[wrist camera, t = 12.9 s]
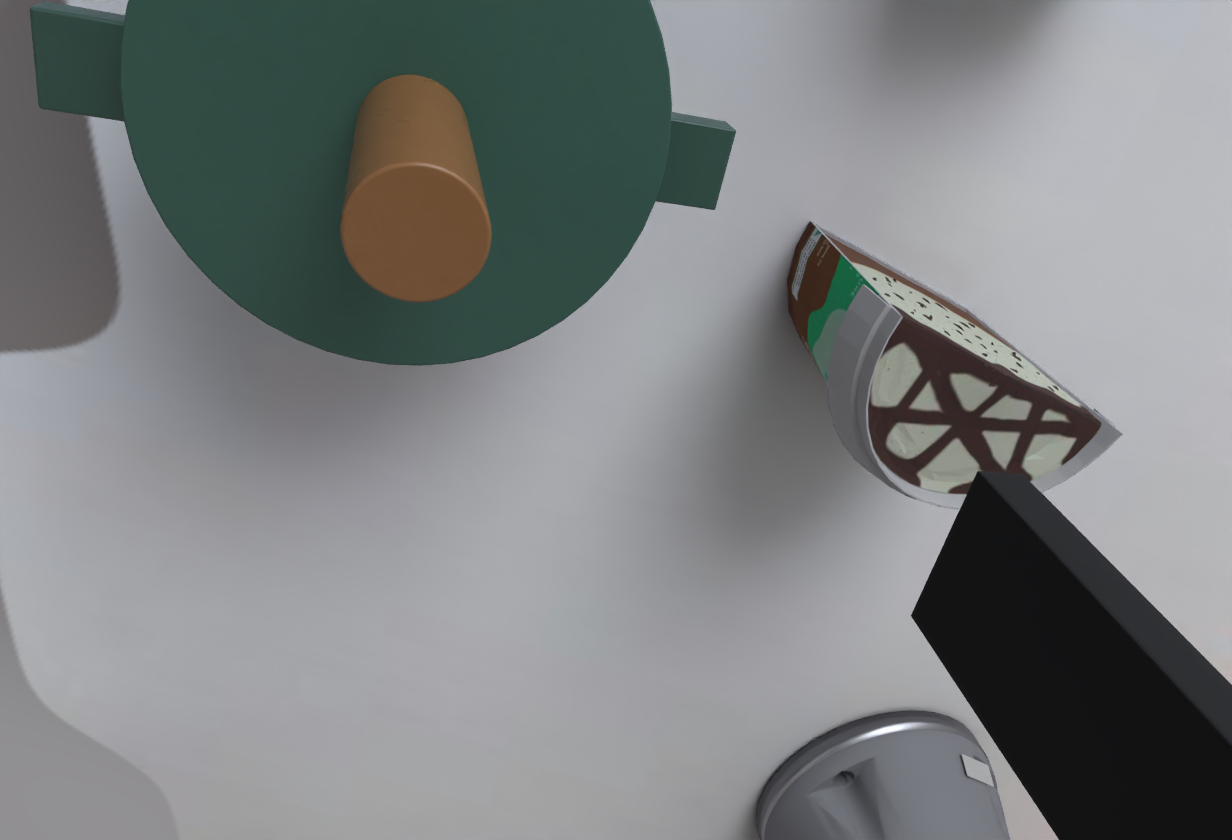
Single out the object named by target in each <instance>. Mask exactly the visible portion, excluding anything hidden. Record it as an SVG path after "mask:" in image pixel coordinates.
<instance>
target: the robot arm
mask: <svg viewBox="0 0 1232 840" xmlns="http://www.w3.org/2000/svg"><path fill="white" fill-rule="evenodd" d="M911 616H912V618H913V619H914V621H915V623H916V624H917V626H918V627H919V629H920V630H921V632H922V633H923V635H924V636H925V638H926V639H927V641H928V642H929V644H930V645H931V647H932V648H933V650H934V651H935V653H936V654H937V656H938V657H939V659H940V660H941V662H942V663H943V665H944V666H945V668H946V669H947V671H948V672H949V674H950V675H951V677H952V678H953V680H954V681H955V683H956V685H957V686H958V688H959V689H960V691H961V692H962V694H963V695H964V697H965V698H966V700H967V701H968V703H969V704H970V706H971V707H972V709H973V710H974V712H975V713H976V715H977V716H978V718H979V719H980V721H981V722H982V724H983V725H984V727H985V728H986V730H987V731H988V733H989V734H990V736H991V737H992V739H993V740H994V742H995V743H996V745H997V747H998V748H999V750H1000V751H1001V753H1002V754H1003V756H1004V757H1005V759H1006V760H1007V762H1008V763H1009V765H1010V766H1011V768H1012V769H1013V771H1014V772H1015V774H1016V775H1017V777H1018V778H1019V780H1020V781H1021V783H1022V784H1023V786H1024V787H1025V789H1026V790H1027V792H1028V793H1029V795H1030V796H1031V798H1032V799H1033V801H1034V802H1035V804H1036V805H1037V807H1038V809H1039V810H1040V812H1041V813H1042V815H1043V816H1044V818H1045V819H1046V821H1047V822H1048V824H1049V825H1050V827H1051V828H1052V830H1053V831H1054V833H1055V834H1056V836H1057V837H1058V839H1059V840H1232V685H1231V684H1230V683H1229V682H1228V681H1227V680H1226V679H1225V678H1224V677H1223V676H1222V675H1221V674H1220V673H1219V672H1218V671H1217V670H1216V669H1215V668H1214V667H1213V666H1212V665H1211V664H1210V663H1209V662H1208V661H1207V660H1206V658H1205V657H1204V656H1203V655H1202V654H1201V653H1200V652H1199V651H1198V650H1197V649H1196V648H1195V647H1194V646H1193V645H1192V644H1191V643H1190V642H1189V641H1188V640H1187V639H1186V638H1185V637H1184V636H1183V635H1182V634H1181V633H1180V632H1179V631H1178V630H1177V629H1176V628H1175V627H1174V626H1173V625H1172V624H1171V623H1170V622H1169V621H1168V620H1167V619H1166V618H1165V617H1164V616H1163V615H1162V614H1161V613H1160V612H1159V611H1158V610H1157V609H1156V608H1155V607H1154V606H1153V605H1152V604H1151V603H1150V602H1149V601H1148V600H1147V599H1146V598H1145V597H1144V596H1143V595H1142V594H1141V593H1140V592H1139V591H1138V590H1137V589H1136V588H1135V587H1134V586H1133V585H1132V584H1131V583H1130V582H1129V581H1128V580H1127V579H1126V578H1125V577H1124V576H1123V575H1122V574H1121V573H1120V572H1119V571H1118V570H1117V569H1116V568H1115V567H1114V566H1113V565H1112V564H1111V563H1110V562H1109V561H1108V560H1107V559H1106V558H1105V557H1104V556H1103V555H1102V554H1101V553H1100V552H1099V551H1098V550H1097V549H1096V548H1095V547H1094V546H1093V545H1092V544H1091V543H1090V542H1089V541H1088V540H1087V538H1086V537H1085V536H1084V535H1083V534H1082V533H1081V532H1080V531H1079V530H1078V529H1077V528H1076V527H1075V526H1074V525H1073V524H1072V523H1071V522H1070V521H1069V520H1068V519H1067V518H1066V517H1065V516H1064V515H1063V514H1062V513H1061V512H1060V511H1059V510H1058V509H1057V508H1056V507H1055V506H1054V505H1053V504H1052V503H1051V502H1050V501H1049V500H1048V499H1047V498H1046V497H1045V496H1044V495H1043V494H1042V493H1041V492H1040V491H1039V490H1038V489H1037V488H1036V487H1035V486H1034V485H1033V484H1032V483H1031V482H1030V481H1029V480H1028V479H1027V478H1026V477H1025V476H1024V475H1023V474H1014V473H1000V472H986V471H977V473H976V476H975V478H974V480H973V482H972V484H971V486H970V489H969V491H968V493H967V495H966V497H965V499H964V502H963V504H962V506H961V508H960V510H959V512H958V515H957V517H956V519H955V521H954V523H953V526H952V528H951V530H950V532H949V534H948V536H947V539H946V541H945V543H944V545H943V547H942V549H941V552H940V554H939V556H938V558H937V560H936V562H935V565H934V567H933V569H932V571H931V573H930V575H929V578H928V580H927V582H926V584H925V586H924V589H923V591H922V593H921V595H920V597H919V599H918V602H917V604H916V606H915V608H914V610H913V612H912V615H911ZM756 823H757V829H758V833H759V836H760V838H761V840H1010V837H1009V833H1008V829H1007V825H1006V821H1005V817H1004V812H1003V808H1002V805H1001V801H1000V797H999V794H998V791H997V784H996V780H995V776H994V773H993V770H992V767H991V765H990V763H989V760H988V758H987V756H986V754H985V752H984V751H983V749H982V748H981V746H980V744H979V743H978V741H977V740H976V738H975V737H974V735H973V734H972V733H971V731H970V730H969V729H968V728H967V727H966V726H964V725H963V724H962V723H960V722H959V721H957V720H955V719H953V718H951V717H948V716H945V715H942V714H938V713H933V712H926V711H898V712H889V713H884V714H879V715H874V716H870V717H867V718H863V719H860V720H857V721H854V722H851V723H849V724H846V725H844V726H841V727H839V728H837V729H835V730H833V731H831V732H829V733H827V734H825V735H823V736H821V737H820V738H818V739H816V740H815V741H813V742H811V743H810V744H808V745H807V746H806V747H804V748H803V749H801V750H800V751H799V752H798V753H796V754H795V755H794V756H793V757H791V758H790V759H789V760H788V761H787V762H786V763H785V764H784V765H783V766H782V767H781V768H780V769H779V770H778V771H777V773H776V774H775V775H774V776H773V778H772V779H771V780H770V782H769V783H768V785H767V787H766V788H765V790H764V792H763V794H762V796H761V799H760V801H759V804H758V808H757V815H756Z"/></svg>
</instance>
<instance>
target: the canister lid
mask: <svg viewBox="0 0 1232 840" xmlns="http://www.w3.org/2000/svg"><path fill="white" fill-rule="evenodd" d="M120 90H121V98H122V107H123V115H124V123H125V126H126V130H127V134H128V138H129V142H130V146H131V150H132V153H133V157H134V160H135V163H136V165H137V168H138V170H139V173H140V175H141V178H142V180H143V183H144V185H145V188H146V190H147V193H148V195H149V196H150V198H151V200H152V202H153V204H154V205H155V207H156V209H157V211H158V213H159V214H160V216H161V218H162V220H163V222H164V223H165V225H166V227H167V228H168V229H169V231H170V232H171V234H172V235H173V236H174V238H175V239H176V240H177V242H178V243H179V245H180V246H181V247H182V249H183V250H184V251H185V253H186V254H187V256H188V257H189V258H190V259H191V260H192V261H193V262H194V263H195V264H196V265H197V266H198V267H199V269H200V270H201V271H202V272H203V273H204V274H205V275H206V276H207V277H208V278H209V279H210V280H211V281H212V282H213V283H214V284H215V285H216V286H217V287H218V288H220V289H221V290H222V291H223V292H224V293H225V294H227V295H228V296H229V297H230V298H231V299H232V300H234V301H235V302H236V303H237V304H238V305H240V306H241V307H243V308H244V309H246V310H247V311H249V312H250V313H252V314H253V315H254V316H256V317H257V318H259V319H260V320H262V321H263V322H265V323H266V324H268V325H270V326H272V327H274V328H276V329H278V330H280V331H281V332H283V333H285V334H287V335H289V336H291V337H293V338H295V339H297V340H299V341H302V342H304V343H307V344H310V345H312V346H315V347H317V348H320V349H322V350H325V351H328V352H331V353H335V354H339V355H343V356H347V357H350V358H354V359H358V360H364V361H371V362H377V363H384V364H394V365H433V364H446V363H455V362H460V361H465V360H470V359H475V358H480V357H484V356H487V355H490V354H493V353H496V352H500V351H503V350H506V349H509V348H512V347H514V346H516V345H518V344H520V343H523V342H525V341H527V340H529V339H531V338H534V337H536V336H538V335H540V334H541V333H543V332H545V331H546V330H548V329H549V328H551V327H553V326H554V325H556V324H558V323H559V322H561V321H563V320H564V319H565V318H567V317H568V316H569V315H570V314H572V313H573V312H574V311H576V310H577V309H578V308H579V307H581V306H582V305H583V304H585V303H586V302H587V301H588V300H589V299H590V298H591V297H592V296H593V295H594V294H595V293H596V292H597V291H598V290H599V289H600V288H601V287H602V286H603V285H604V284H605V283H606V282H607V281H608V280H609V278H610V277H611V276H612V275H613V273H614V272H615V271H616V270H617V268H618V267H619V266H620V264H621V263H622V262H623V261H624V259H625V258H626V257H627V255H628V254H629V252H630V250H631V249H632V247H633V245H634V244H635V242H636V240H637V239H638V237H639V235H640V234H641V232H642V230H643V228H644V226H645V224H646V221H647V219H648V217H649V215H650V212H651V210H652V208H653V206H654V203H655V201H656V198H657V194H658V191H659V188H660V184H661V181H662V178H663V174H664V171H665V166H666V160H667V154H668V148H669V142H670V132H671V110H672V101H671V88H670V76H669V67H668V62H667V57H666V53H665V48H664V43H663V38H662V34H661V31H660V28H659V25H658V22H657V19H656V16H655V13H654V10H653V7H652V5H651V2H650V0H129V1H128V4H127V9H126V15H125V21H124V27H123V33H122V39H121V45H120Z"/></svg>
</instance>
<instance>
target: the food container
mask: <svg viewBox="0 0 1232 840" xmlns="http://www.w3.org/2000/svg"><path fill="white" fill-rule="evenodd" d="M787 287H788V309H789V314H790V316H791V318H792V321H793V323H794V325H795V327H796V330H797V332H798V334H799V337H800V339H801V340H802V342H803V344H804V345H805V347H806V349H807V350H808V352H809V354H810V355H811V357H812V359H813V361H814V362H815V364H816V366H817V367H818V369H819V371H820V372H821V374H822V376H823V377H824V379H825V381H826V382H827V387H828V404H829V409H830V413H831V417H832V421H833V425H834V427H835V429H836V431H837V433H838V435H839V438H840V440H841V442H842V444H843V445H844V446H845V448H846V449H847V450H848V452H849V453H850V454H851V455H852V457H853V458H854V459H855V460H856V461H857V462H858V463H860V464H861V465H862V466H863V467H864V468H866V469H867V470H868V471H869V472H870V473H872V474H873V475H875V476H876V477H877V478H879V479H880V480H881V481H883V482H884V483H885V484H887V485H888V486H889V487H891V488H893V489H895V490H896V491H898V492H900V493H902V494H904V495H906V496H908V497H911V498H914V499H917V500H920V501H922V502H925V503H928V504H932V505H935V506H938V507H944V508H951V509H960V508H961V506H962V504H963V502H964V499H965V497H966V495H967V493H968V491H969V489H970V486H971V484H972V482H973V480H974V478H975V476H976V473H977V471H986V472H1000V473H1014V474H1023V475H1024V476H1025V477H1026V478H1027V479H1028V480H1029V481H1030V482H1031V483H1032V484H1033V485H1034V486H1035V487H1036V488H1037V489H1038V490H1039V491H1040V492H1041V493H1042V492H1044V491H1046V490H1048V489H1050V488H1052V487H1054V486H1056V485H1058V484H1060V483H1062V482H1063V481H1065V480H1067V479H1069V478H1070V477H1072V476H1073V475H1075V474H1076V473H1078V472H1079V471H1081V470H1082V469H1084V468H1085V467H1087V466H1088V465H1089V464H1090V463H1092V462H1093V461H1094V460H1095V459H1096V458H1098V457H1099V456H1100V455H1101V454H1102V453H1104V452H1105V451H1106V450H1107V449H1108V448H1109V447H1110V446H1111V445H1112V444H1113V443H1114V442H1115V441H1116V440H1117V439H1118V438H1119V437H1120V436H1121V435H1122V433H1121V432H1120V431H1119V430H1117V429H1116V427H1115V426H1114V425H1113V424H1112V423H1111V422H1110V421H1109V420H1108V419H1106V418H1105V417H1104V416H1103V415H1102V414H1101V413H1100V412H1099V411H1098V410H1096V409H1094V410H1093V409H1092V408H1090V407H1089V406H1088V405H1087V404H1085V403H1084V402H1083V401H1082V400H1080V399H1079V398H1078V397H1077V396H1075V395H1074V394H1073V393H1072V392H1070V391H1069V390H1068V389H1067V388H1065V387H1064V386H1063V385H1062V384H1060V383H1059V382H1058V381H1057V380H1055V379H1054V378H1053V377H1052V376H1050V375H1049V374H1048V373H1047V372H1046V371H1044V370H1043V369H1042V368H1041V367H1039V366H1038V365H1037V364H1036V363H1034V362H1033V361H1032V360H1031V359H1029V358H1028V357H1027V356H1026V355H1024V354H1023V353H1022V352H1021V351H1019V350H1018V349H1017V348H1016V347H1014V346H1013V345H1012V344H1011V343H1009V342H1008V341H1007V340H1006V339H1004V338H1003V337H1002V336H1001V335H1000V334H998V333H997V332H996V331H995V330H993V329H992V328H991V327H990V326H988V325H987V324H986V323H985V322H983V321H982V320H981V319H980V318H978V317H977V316H976V315H975V314H973V313H972V312H971V311H970V310H968V309H967V308H965V307H963V306H962V305H960V304H958V303H956V302H954V301H953V300H951V299H949V298H947V297H945V296H944V295H942V294H940V293H938V292H936V291H935V290H933V289H931V288H929V287H928V286H926V285H924V284H922V283H920V282H919V281H917V280H915V279H913V278H911V277H910V276H908V275H906V274H904V273H902V272H901V271H899V270H897V269H895V268H894V267H892V266H890V265H888V264H886V263H885V262H883V261H881V260H879V259H877V258H876V257H874V256H872V255H870V254H868V253H867V252H865V251H863V250H861V249H860V248H858V247H856V246H854V245H852V244H851V243H849V242H847V241H845V240H843V239H842V238H840V237H838V236H836V235H834V234H833V233H831V232H829V231H827V230H826V229H824V228H822V227H820V226H818V225H817V224H815V223H813V222H811V221H810V223H809V224H808V226H807V228H806V230H805V232H804V233H803V235H802V237H801V239H800V240H799V242H798V244H797V246H796V249H795V253H794V257H793V260H792V264H791V268H790V271H789V275H788V279H787Z"/></svg>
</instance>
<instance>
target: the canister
mask: <svg viewBox="0 0 1232 840" xmlns="http://www.w3.org/2000/svg"><path fill="white" fill-rule="evenodd" d="M30 18H31V28H32V40H33V49H34V61H35V72H36V83H37V93H38V104H39V107H40V108H42V109H45V110H52V111H59V112H65V113H72V114H79V115H85V116H92V117H99V118H105V119H112V120H119V121H124V115H123V107H122V98H121V90H120V45H121V39H122V33H123V27H124V21H125V15H120V14H114V13H108V12H103V11H97V10H91V9H86V8H80V7H74V6H69V5H63V4H57V3H52V2H46V1H44V2H41V3H38V4H36V5H34V6H32V7H31V8H30ZM735 133H736V130H735V129H734V128H732V127H731V126H730V125H729V124H728V123H727V122H725V121H719V120H713V119H708V118H702V117H696V116H691V115H685V114H679V113H674V112H671V132H670V142H669V148H668V154H667V160H666V166H665V171H664V174H663V178H662V181H661V184H660V188H659V191H658V194H657V198H656V201H658V202H665V203H671V204H678V205H685V206H691V207H698V208H705V209H711V210H715V208H716V204H717V200H718V196H719V193H720V189H721V185H722V182H723V178H724V174H725V170H726V167H727V163H728V159H729V155H730V152H731V148H732V144H733V141H734V137H735Z"/></svg>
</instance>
